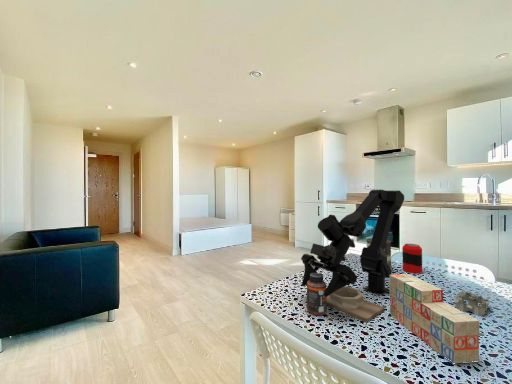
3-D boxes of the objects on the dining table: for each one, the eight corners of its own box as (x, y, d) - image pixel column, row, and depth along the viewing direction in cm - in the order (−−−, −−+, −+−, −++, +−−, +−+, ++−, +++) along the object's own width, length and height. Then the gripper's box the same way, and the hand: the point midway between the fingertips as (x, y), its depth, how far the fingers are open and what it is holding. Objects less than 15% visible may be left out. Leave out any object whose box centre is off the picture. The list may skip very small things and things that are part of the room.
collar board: (329, 290, 90) (329, 279, 90) (384, 310, 75) (384, 297, 75) (310, 298, 84) (310, 286, 84) (366, 322, 68) (366, 308, 68)
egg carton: (483, 319, 70) (483, 304, 70) (451, 308, 76) (451, 295, 76) (492, 308, 76) (492, 295, 76) (461, 299, 82) (461, 287, 82)
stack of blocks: (480, 363, 52) (480, 306, 52) (453, 366, 51) (453, 308, 51) (408, 313, 73) (408, 273, 73) (389, 314, 72) (388, 273, 72)
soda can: (399, 268, 115) (399, 243, 115) (416, 268, 114) (416, 243, 114) (407, 273, 108) (407, 246, 108) (425, 274, 107) (425, 247, 106)
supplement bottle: (327, 317, 71) (327, 278, 71) (306, 315, 72) (306, 277, 72) (325, 307, 77) (325, 272, 77) (306, 305, 78) (306, 271, 78)
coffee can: (384, 266, 117) (383, 237, 117) (396, 274, 107) (395, 242, 107) (362, 267, 117) (362, 238, 117) (372, 274, 107) (372, 242, 107)
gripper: (304, 230, 85) (279, 267, 79) (350, 239, 69) (323, 285, 63) (320, 249, 89) (298, 286, 83) (367, 262, 73) (343, 308, 67)
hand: (313, 290), depth 74 cm, fingers open, 9 cm apart
